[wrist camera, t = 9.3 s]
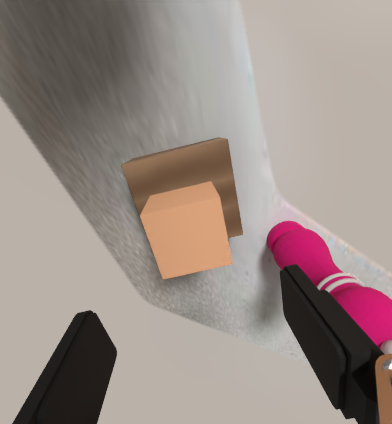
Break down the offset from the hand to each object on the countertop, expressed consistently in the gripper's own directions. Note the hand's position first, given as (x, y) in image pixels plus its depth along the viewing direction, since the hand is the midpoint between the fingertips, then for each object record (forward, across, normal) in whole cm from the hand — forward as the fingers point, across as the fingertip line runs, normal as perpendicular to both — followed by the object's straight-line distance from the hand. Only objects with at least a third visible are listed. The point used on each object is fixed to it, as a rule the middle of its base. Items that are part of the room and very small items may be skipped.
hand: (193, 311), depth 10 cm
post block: (+22, 0, 0) cm, 22 cm away
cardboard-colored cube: (+12, 0, 0) cm, 12 cm away
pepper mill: (+22, -14, +12) cm, 29 cm away
